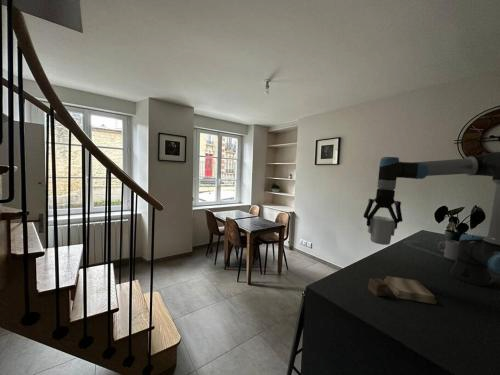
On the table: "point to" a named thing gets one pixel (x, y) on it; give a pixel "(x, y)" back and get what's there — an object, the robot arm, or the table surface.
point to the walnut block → (377, 287)
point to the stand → (409, 290)
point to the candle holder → (381, 230)
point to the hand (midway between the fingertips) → (380, 233)
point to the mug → (450, 249)
